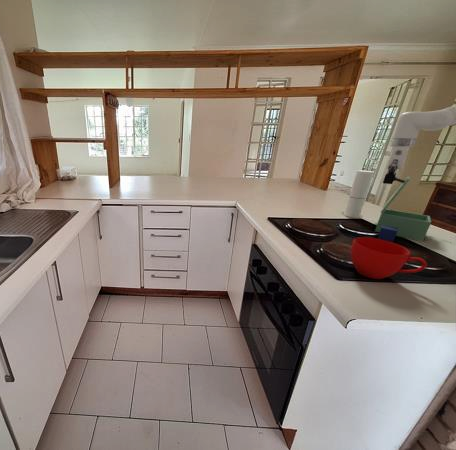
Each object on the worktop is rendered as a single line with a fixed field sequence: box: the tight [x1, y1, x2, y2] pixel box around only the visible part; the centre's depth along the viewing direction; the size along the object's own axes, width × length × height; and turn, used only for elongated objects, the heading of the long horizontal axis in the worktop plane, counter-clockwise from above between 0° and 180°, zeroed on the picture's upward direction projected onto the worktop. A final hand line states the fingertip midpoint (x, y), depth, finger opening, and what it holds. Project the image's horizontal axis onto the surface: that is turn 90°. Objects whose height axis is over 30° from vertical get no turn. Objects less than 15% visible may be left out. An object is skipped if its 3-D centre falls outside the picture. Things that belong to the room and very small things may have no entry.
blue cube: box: [377, 225, 398, 243], centre depth 102 cm, size 5×5×5 cm
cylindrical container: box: [343, 169, 375, 219], centre depth 129 cm, size 7×7×25 cm
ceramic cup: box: [350, 236, 427, 280], centre depth 73 cm, size 13×17×10 cm
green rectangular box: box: [374, 208, 432, 242], centre depth 108 cm, size 16×13×9 cm
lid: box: [380, 175, 411, 213], centre depth 109 cm, size 16×13×5 cm
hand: (388, 182), depth 108 cm, fingers open, 9 cm apart
